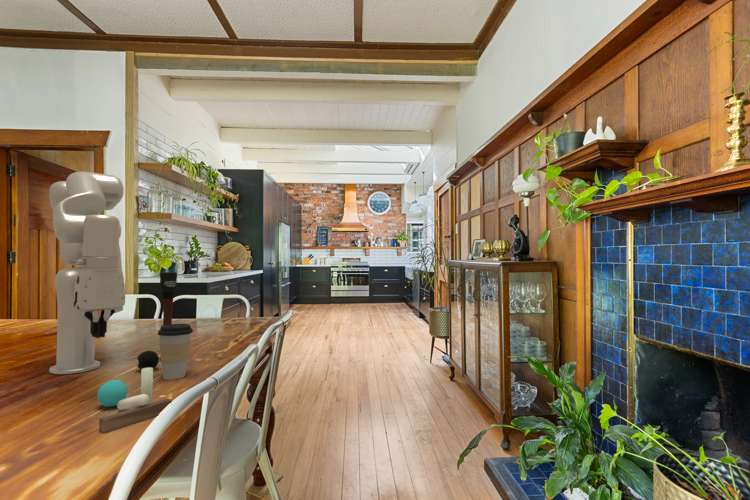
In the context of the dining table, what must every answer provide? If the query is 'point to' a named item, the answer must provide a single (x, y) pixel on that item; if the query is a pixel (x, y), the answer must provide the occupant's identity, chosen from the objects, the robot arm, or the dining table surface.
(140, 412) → the walnut rail
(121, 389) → the ball
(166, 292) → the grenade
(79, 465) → the dining table surface
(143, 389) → the sage pin
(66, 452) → the dining table surface
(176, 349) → the coffee cup
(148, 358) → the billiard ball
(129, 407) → the cream pin
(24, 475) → the dining table surface
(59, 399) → the dining table surface
